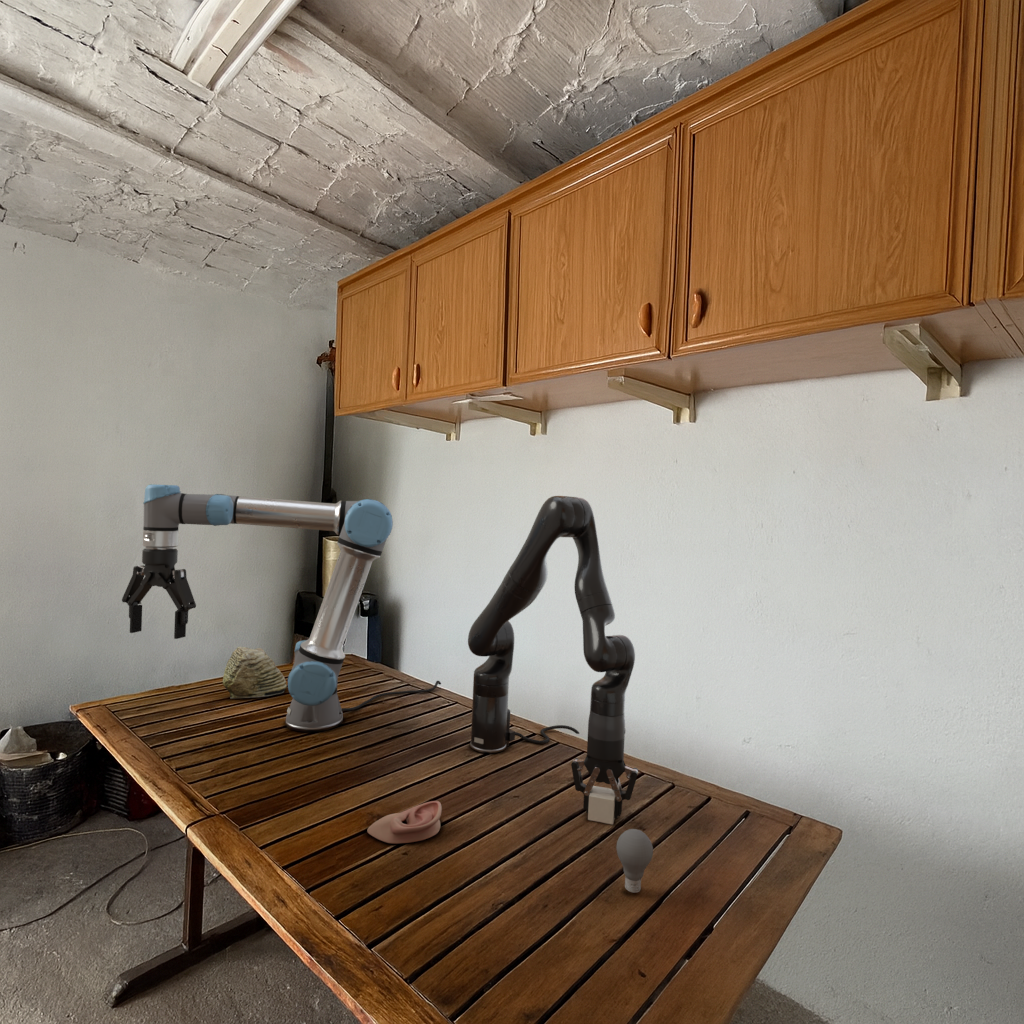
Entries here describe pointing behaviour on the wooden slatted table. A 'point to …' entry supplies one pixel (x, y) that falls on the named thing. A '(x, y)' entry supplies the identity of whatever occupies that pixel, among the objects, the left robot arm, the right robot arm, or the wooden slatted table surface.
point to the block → (601, 805)
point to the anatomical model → (408, 824)
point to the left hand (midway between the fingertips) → (157, 634)
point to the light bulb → (634, 857)
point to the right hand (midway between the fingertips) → (602, 813)
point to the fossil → (252, 674)
